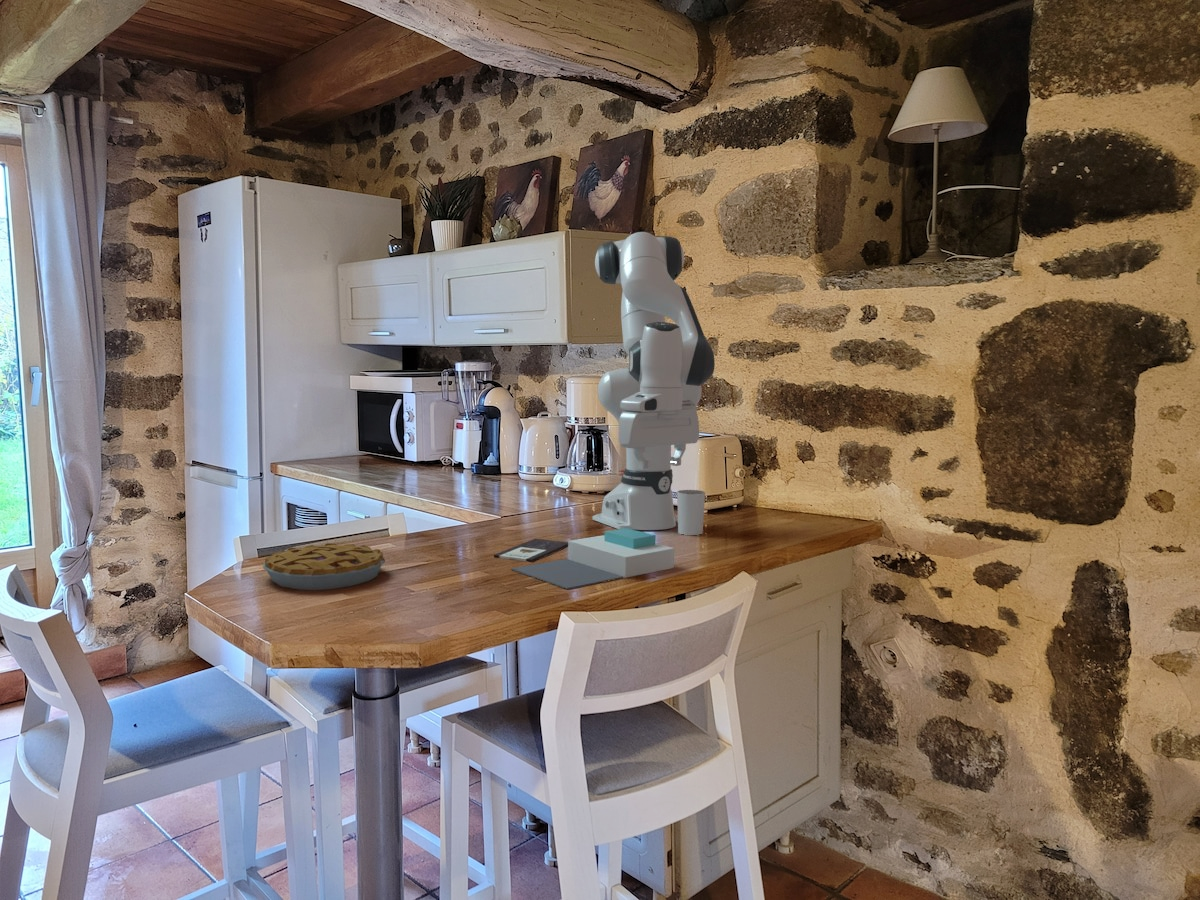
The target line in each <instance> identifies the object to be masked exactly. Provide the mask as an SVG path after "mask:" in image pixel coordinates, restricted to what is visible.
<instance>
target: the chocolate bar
mask: <svg viewBox="0 0 1200 900" xmlns="http://www.w3.org/2000/svg"><path fill="white" fill-rule="evenodd" d="M565 548H568V541H560V540H559V541H558V540H552V539H551V540H549V539H541V538H533V539H531V540H528V541H526V542H523V543H520V544H518V545H515V546H513V547H511V548H508V549H506V550H503V551H500V552H498V553H494V555H493V558H497V559H504V560H512V561H519V562H520V561H521V562H526V561H528V563H533V562H535V560H536V561H538V560H540V559H542V558H544V556H545V557H547V556H548V555H551V554H554V553H555V552H558V551H561V550H563V549H565ZM560 549H561V550H560ZM553 552H554V553H553ZM546 555H547V556H546ZM539 558H540V559H539ZM537 559H538V560H537Z"/></svg>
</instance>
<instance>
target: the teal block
mask: <svg viewBox="0 0 1200 900" xmlns="http://www.w3.org/2000/svg"><path fill="white" fill-rule="evenodd" d="M604 535H605V538H604V541H606V542H610V543H614V544H617V545H621V546H625V547H628V548H632V549H635V548H641V547H647V546H652V545H655V543H656V535H655V534H652V533H647V532H643V531H641V530H634V529H628V528H624V529H617V528H616V529H612V530H611V529H610V530H606V531H604Z"/></svg>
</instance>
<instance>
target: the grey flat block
mask: <svg viewBox="0 0 1200 900" xmlns="http://www.w3.org/2000/svg"><path fill="white" fill-rule="evenodd" d="M604 538H605V534H604V535H603V534H602V535H597V536H591V537H584V538H578V539H573V540H567V542H568V546H567V548H568V549H567V559H569V560H572V561H575V562H578V563H581V564H585V565H588V566H591V567H594V568H597V569H601V570H604V571H607V572H610V573H613V574H617V575H620V576H623V578H630V577H636V576H640V575H644V574H649V573H650V574H651V573H655V572H656V573H657V572H660V571H664V570H668V569H669V570H670V569H674V568H675V548H674V547H672V546H667V545H663V544H658V543H656V542H655V545H652V546H647V547H641V548H635V549H632V548H628V547H625V546H621V545H617V544H614V543H610V542H606V541H604Z"/></svg>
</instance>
